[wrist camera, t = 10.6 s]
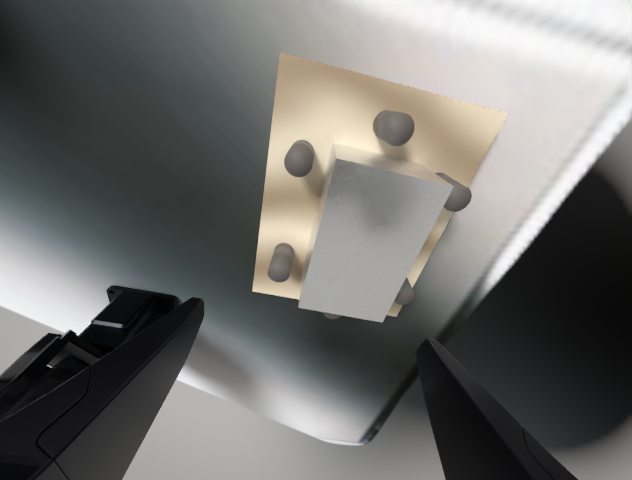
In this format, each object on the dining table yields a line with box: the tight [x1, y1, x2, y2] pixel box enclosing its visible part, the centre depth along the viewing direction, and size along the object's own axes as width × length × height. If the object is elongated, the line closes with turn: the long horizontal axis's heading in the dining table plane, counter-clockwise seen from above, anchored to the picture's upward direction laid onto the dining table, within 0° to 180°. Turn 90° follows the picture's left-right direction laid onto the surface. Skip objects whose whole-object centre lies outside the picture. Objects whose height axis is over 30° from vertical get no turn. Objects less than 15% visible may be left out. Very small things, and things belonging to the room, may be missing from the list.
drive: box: [298, 142, 454, 323], centre depth 16 cm, size 10×6×5 cm, turn 167°
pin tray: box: [252, 52, 508, 319], centre depth 18 cm, size 18×14×4 cm
